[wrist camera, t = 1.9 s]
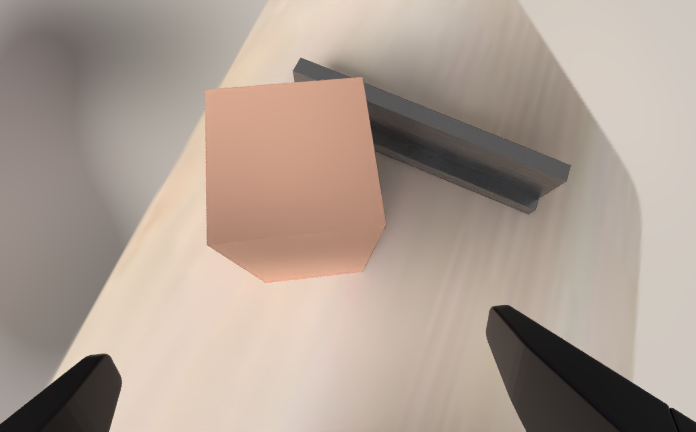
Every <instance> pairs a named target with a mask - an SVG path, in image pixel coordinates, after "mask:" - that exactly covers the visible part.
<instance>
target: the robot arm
mask: <svg viewBox="0 0 696 432" xmlns="http://www.w3.org/2000/svg"><path fill="white" fill-rule="evenodd" d="M486 337H487V341H488V343H489V346H490V348H491V351H492V354H493V356H494V359H495V361H496V364H497V366H498V369H499V372H500V374H501V377H502V379H503V382H504V385H505V387H506V390H507V392H508V395H509V397H510V399H511V402H512V404H513V406H514V408H515V410H516V412H517V414H518V416H519V418H520V420H521V422H522V424H523V426H524V428H525V430H526V432H696V422H694V421H693V420H691V419H690V418H688V417H686V416H685V415H683V414H682V413H680V412H679V411H677V410H675V409H674V408H669V406H668V405H667V404H666V403H664V402H662V401H661V400H659V399H658V398H656V397H654V396H653V395H651V394H650V393H648V392H646V391H645V390H643V389H642V388H640V387H638V386H637V385H635V384H634V383H632V382H631V381H629V380H627V379H626V378H624V377H623V376H621V375H619V374H618V373H616V372H615V371H613V370H611V369H610V368H608V367H607V366H605V365H603V364H602V363H600V362H599V361H597V360H595V359H594V358H592V357H591V356H589V355H587V354H586V353H584V352H583V351H581V350H580V349H578V348H576V347H575V346H573V345H572V344H570V343H568V342H567V341H565V340H564V339H562V338H560V337H559V336H557V335H556V334H554V333H552V332H551V331H549V330H548V329H546V328H544V327H543V326H541V325H540V324H538V323H536V322H535V321H533V320H532V319H530V318H529V317H527V316H525V315H524V314H522V313H521V312H519V311H517V310H516V309H514V308H513V307H511V306H509V305H500V306H493V307H491V309H490V311H489V316H488V322H487V328H486ZM121 386H122V379H121V375H120V374H119V372H118V370H117V368H116V366H115V364H114V362H113V360H112V358H111V357H110V356H109V355H108V354H96V355H89V356H87V357H85V358H84V359H82V360H81V361H80V362H78V363H77V364H76V365H75V366H73V367H72V368H71V369H69V370H68V371H67V372H66V373H64V374H63V375H62V376H61V377H59V378H58V379H57V380H56V381H54V382H53V383H52V384H50V385H49V386H48V387H47V388H45V389H44V390H43V391H42V392H40V393H39V394H38V395H37V396H35V397H34V398H33V399H31V400H30V401H29V402H28V403H27V404H25V405H24V406H23V407H21V408H20V409H19V410H18V411H16V412H15V413H14V414H13V415H11V416H10V417H9V418H7V419H6V420H5V421H4V422H2V423H1V424H0V432H109V430H110V427H111V423H112V419H113V416H114V412H115V409H116V405H117V401H118V398H119V394H120V391H121Z"/></svg>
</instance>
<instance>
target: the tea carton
mask: <svg viewBox="0 0 696 432" xmlns="http://www.w3.org/2000/svg"><path fill="white" fill-rule="evenodd" d="M205 134H206V210H207V245H208V246H209V247H211V248H213V249H214V250H216V251H217V252H219V253H220V254H222V255H223V256H225V257H226V258H228V259H230V260H231V261H233V262H234V263H236V264H237V265H239V266H240V267H242V268H243V269H245V270H247V271H248V272H250V273H251V274H253V275H254V276H256V277H257V278H259V279H260V280H262V281H264V282H265V283H271V282H279V281H288V280H296V279H304V278H313V277H321V276H329V275H338V274H346V273H355V272H362V271H363V269H364V267H365V265H366V263H367V262H368V260H369V258H370V256H371V254H372V252H373V250H374V248H375V246H376V244H377V242H378V240H379V238H380V236H381V234H382V232H383V230H384V228H385V226H386V220H385V214H384V208H383V202H382V195H381V189H380V183H379V177H378V170H377V164H376V158H375V152H374V145H373V139H372V133H371V127H370V120H369V114H368V108H367V101H366V95H365V89H364V83H363V77H356V78H344V79H331V80H319V81H306V82H294V83H282V84H269V85H257V86H245V87H232V88H220V89H207V90H205Z"/></svg>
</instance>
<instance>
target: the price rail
mask: <svg viewBox="0 0 696 432" xmlns="http://www.w3.org/2000/svg"><path fill="white" fill-rule="evenodd" d="M293 75H294V81H295V82H306V81H319V80H331V79H344V78H351V77H348V76H346V75H343V74H341V73H338V72H335V71H333V70H330V69H328V68H325V67H323V66H320V65H318V64H315V63H313V62H310V61H308V60H305V59H303V58H300V60H299V61H298V63H297V65H296V66H295V68H294V70H293ZM364 89H365V95H366V101H367V108H368V114H369V120H370V127H371V133H372V139H373V145H374V150H375V151H378V152H380V153H382V154H385V155H387V156H390V157H392V158H395V159H397V160H399V161H402V162H404V163H407V164H409V165H411V166H414V167H416V168H419V169H421V170H423V171H426V172H428V173H431V174H433V175H435V176H438V177H440V178H443V179H445V180H447V181H450V182H452V183H455V184H457V185H460V186H462V187H464V188H467V189H469V190H472V191H474V192H476V193H479V194H481V195H484V196H486V197H488V198H491V199H493V200H496V201H498V202H500V203H503V204H505V205H508V206H510V207H513V208H515V209H517V210H520V211H522V212H525V213H527V214H530V213H531V212H533V211H535V210H536V207H537V203H538V200H539V198H541V197H542V196H544V195H545V194H547V193H549V192H550V191H552V190H553V189H555V188H556V187H558V186H560V185H561V184H563V183H564V182H566V181H567V178H568V174H569V170H570V167H571V165H569V164H566V163H564V162H561V161H559V160H556V159H554V158H551V157H548V156H546V155H543V154H541V153H538V152H536V151H533V150H531V149H528V148H526V147H523V146H521V145H518V144H516V143H513V142H511V141H508V140H506V139H503V138H501V137H498V136H496V135H493V134H491V133H488V132H486V131H483V130H481V129H478V128H476V127H473V126H471V125H468V124H466V123H463V122H461V121H458V120H456V119H453V118H451V117H448V116H446V115H443V114H441V113H438V112H436V111H433V110H431V109H428V108H426V107H423V106H421V105H418V104H416V103H413V102H411V101H408V100H406V99H403V98H401V97H398V96H396V95H393V94H391V93H388V92H386V91H383V90H381V89H378V88H376V87H373V86H371V85H368V84H366V83H364Z"/></svg>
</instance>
